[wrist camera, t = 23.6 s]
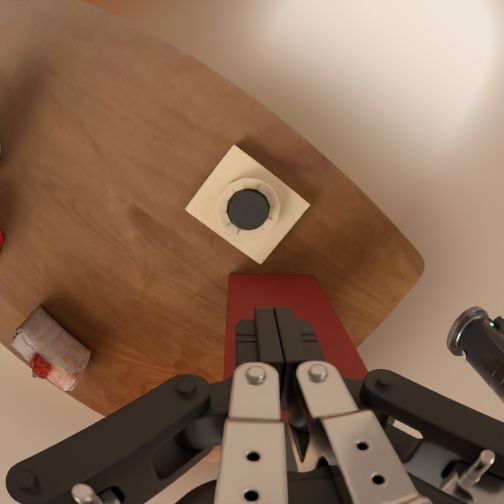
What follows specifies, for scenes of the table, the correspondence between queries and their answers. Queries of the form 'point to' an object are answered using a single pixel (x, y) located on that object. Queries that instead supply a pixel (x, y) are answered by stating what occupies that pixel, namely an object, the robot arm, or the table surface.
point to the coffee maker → (304, 307)
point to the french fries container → (1, 239)
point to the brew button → (248, 210)
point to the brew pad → (242, 179)
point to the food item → (51, 350)
